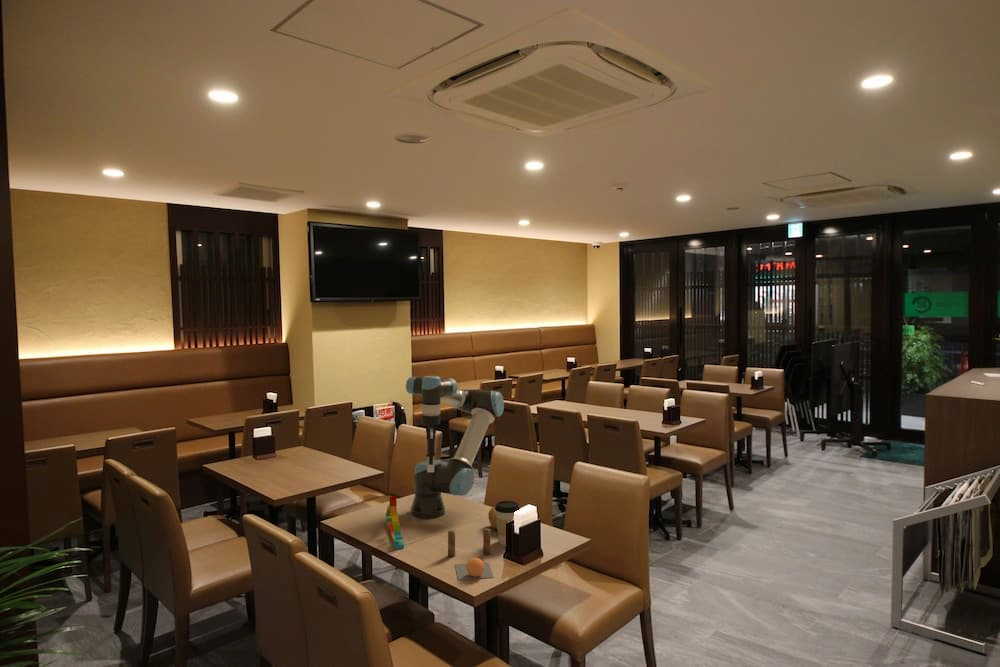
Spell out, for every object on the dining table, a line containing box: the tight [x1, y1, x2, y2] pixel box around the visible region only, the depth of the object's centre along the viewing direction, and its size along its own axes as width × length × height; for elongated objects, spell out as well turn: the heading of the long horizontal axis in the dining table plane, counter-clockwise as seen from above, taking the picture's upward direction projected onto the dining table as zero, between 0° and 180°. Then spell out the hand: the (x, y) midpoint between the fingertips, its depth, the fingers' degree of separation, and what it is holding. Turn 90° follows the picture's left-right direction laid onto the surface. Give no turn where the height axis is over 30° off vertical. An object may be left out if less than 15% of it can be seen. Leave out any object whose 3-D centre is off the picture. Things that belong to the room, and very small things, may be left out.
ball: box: [466, 557, 484, 577], centre depth 199 cm, size 6×6×6 cm
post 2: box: [482, 528, 491, 556], centre depth 217 cm, size 3×3×9 cm
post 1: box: [447, 529, 456, 558], centre depth 215 cm, size 3×3×9 cm
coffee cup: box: [494, 500, 521, 546], centre depth 229 cm, size 10×10×15 cm
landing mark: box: [454, 562, 495, 581], centre depth 202 cm, size 12×12×1 cm
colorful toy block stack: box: [384, 495, 405, 550], centre depth 235 cm, size 30×3×15 cm, turn 18°
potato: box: [487, 506, 497, 530], centre depth 242 cm, size 10×14×8 cm
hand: (430, 471), depth 239 cm, fingers closed
